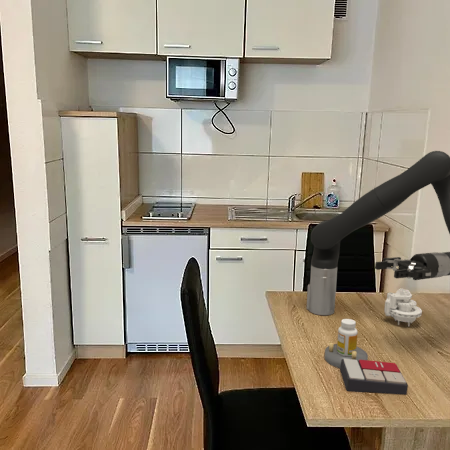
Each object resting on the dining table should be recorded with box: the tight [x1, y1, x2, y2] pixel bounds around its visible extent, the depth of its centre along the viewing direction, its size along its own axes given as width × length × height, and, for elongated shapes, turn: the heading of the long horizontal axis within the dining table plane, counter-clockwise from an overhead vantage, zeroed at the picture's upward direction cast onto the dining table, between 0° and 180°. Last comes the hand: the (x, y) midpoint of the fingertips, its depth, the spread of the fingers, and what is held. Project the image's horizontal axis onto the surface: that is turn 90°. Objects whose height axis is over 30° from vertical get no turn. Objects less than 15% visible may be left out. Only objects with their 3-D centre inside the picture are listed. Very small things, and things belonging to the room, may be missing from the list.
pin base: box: [324, 341, 369, 369], centre depth 136 cm, size 12×12×4 cm
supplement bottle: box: [336, 318, 358, 357], centre depth 135 cm, size 5×5×10 cm
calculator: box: [339, 359, 409, 396], centre depth 124 cm, size 11×4×15 cm
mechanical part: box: [383, 287, 423, 327], centre depth 162 cm, size 11×12×12 cm
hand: (385, 270), depth 135 cm, fingers open, 8 cm apart
